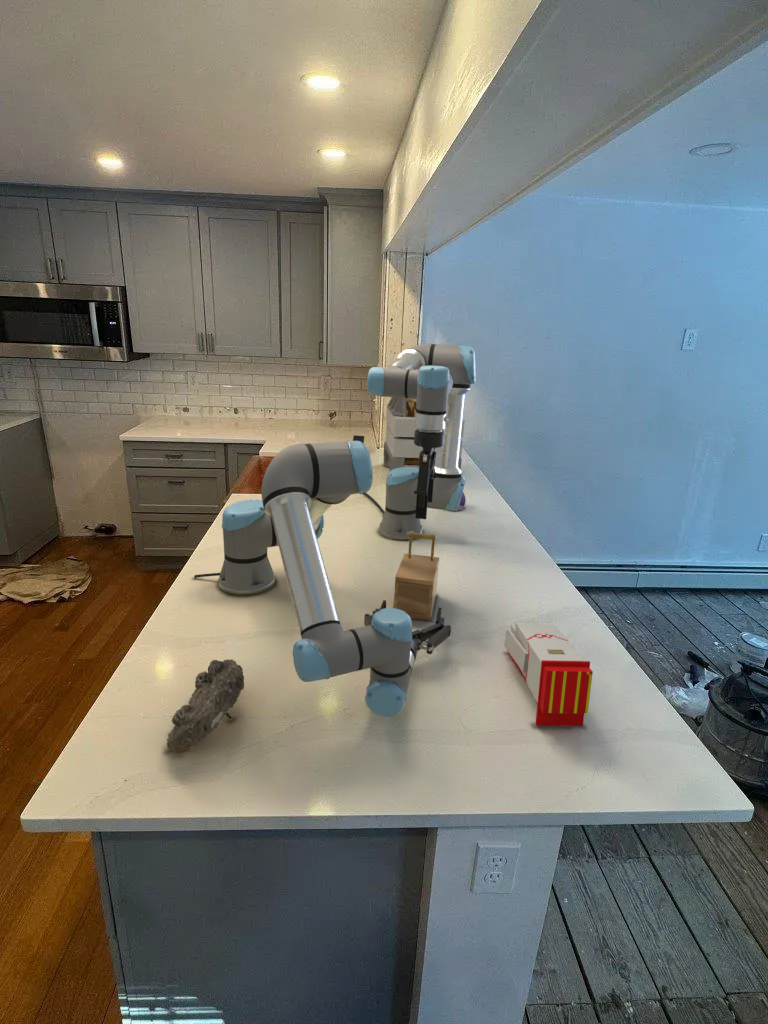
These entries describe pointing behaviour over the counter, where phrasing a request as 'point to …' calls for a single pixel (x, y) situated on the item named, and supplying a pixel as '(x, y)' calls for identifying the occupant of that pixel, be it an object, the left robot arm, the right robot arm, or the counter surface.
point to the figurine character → (358, 438)
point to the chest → (415, 598)
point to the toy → (551, 672)
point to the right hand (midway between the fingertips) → (424, 509)
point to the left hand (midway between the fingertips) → (412, 608)
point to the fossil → (206, 705)
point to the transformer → (404, 434)
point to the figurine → (461, 503)
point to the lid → (418, 564)
